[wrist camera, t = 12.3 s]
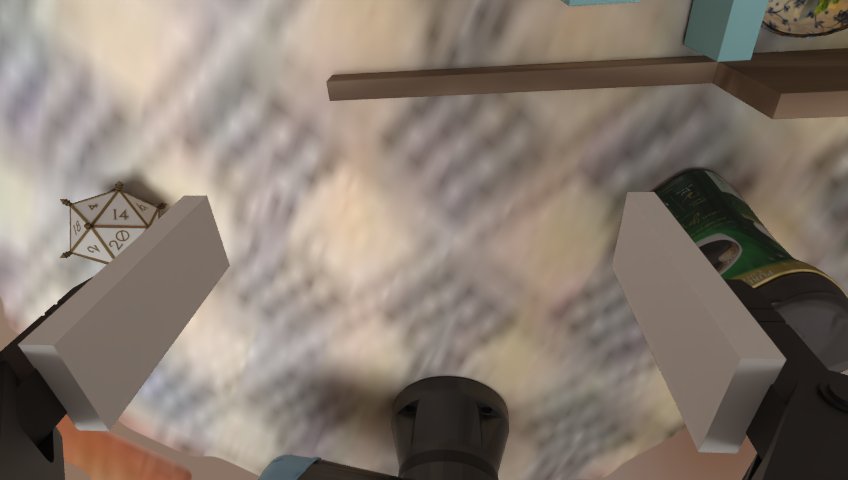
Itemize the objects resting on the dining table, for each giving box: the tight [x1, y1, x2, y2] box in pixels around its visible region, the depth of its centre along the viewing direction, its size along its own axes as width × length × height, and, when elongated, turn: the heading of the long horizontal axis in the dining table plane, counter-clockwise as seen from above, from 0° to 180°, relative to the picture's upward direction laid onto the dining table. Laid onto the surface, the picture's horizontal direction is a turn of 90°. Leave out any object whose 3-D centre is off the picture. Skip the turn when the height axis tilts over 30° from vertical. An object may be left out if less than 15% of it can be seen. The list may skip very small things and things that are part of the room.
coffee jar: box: [655, 170, 848, 373], centre depth 35 cm, size 10×8×19 cm
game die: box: [60, 181, 166, 264], centre depth 43 cm, size 9×8×10 cm
